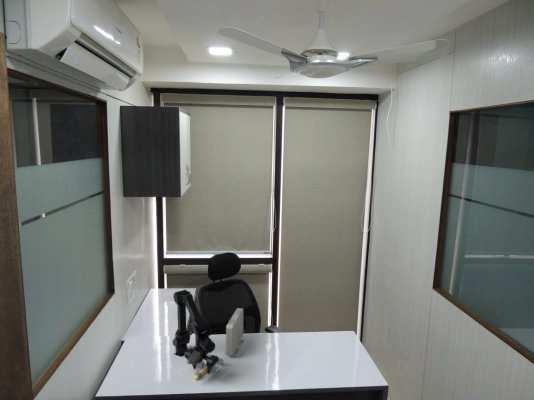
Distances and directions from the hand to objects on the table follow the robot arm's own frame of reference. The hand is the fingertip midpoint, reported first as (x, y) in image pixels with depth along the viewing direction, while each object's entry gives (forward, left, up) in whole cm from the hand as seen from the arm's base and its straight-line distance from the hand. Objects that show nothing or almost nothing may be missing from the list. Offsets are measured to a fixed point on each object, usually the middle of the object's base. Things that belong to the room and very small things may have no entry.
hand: (201, 371), depth 184 cm
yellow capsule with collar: (0, 0, -2) cm, 2 cm away
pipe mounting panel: (-4, +3, -2) cm, 5 cm away
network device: (+1, +32, -3) cm, 32 cm away
